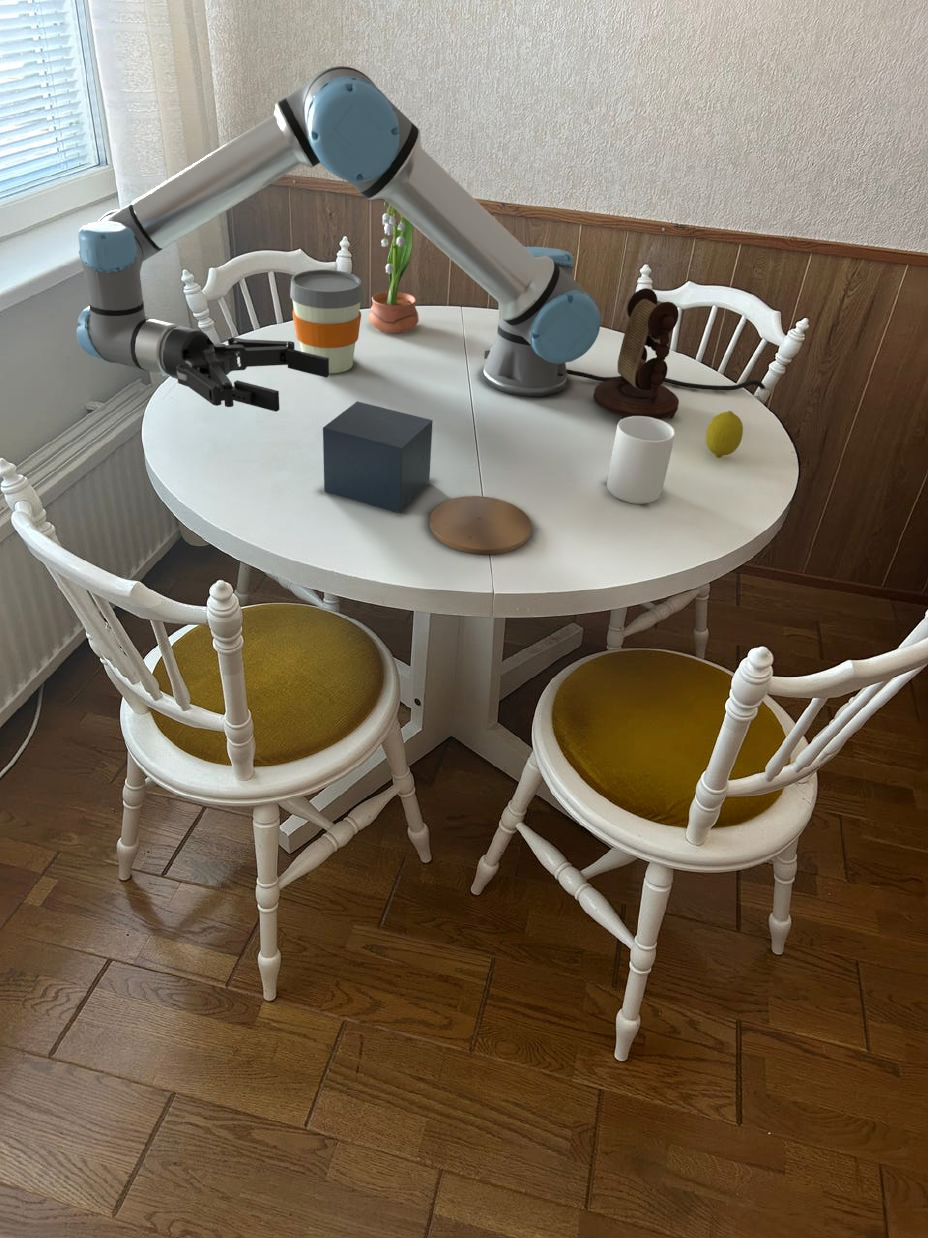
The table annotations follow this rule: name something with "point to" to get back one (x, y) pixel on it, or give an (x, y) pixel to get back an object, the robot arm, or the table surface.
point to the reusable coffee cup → (327, 315)
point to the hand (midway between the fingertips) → (303, 383)
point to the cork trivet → (480, 525)
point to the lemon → (724, 434)
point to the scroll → (642, 362)
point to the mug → (640, 459)
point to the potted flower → (395, 281)
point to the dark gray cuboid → (377, 456)
